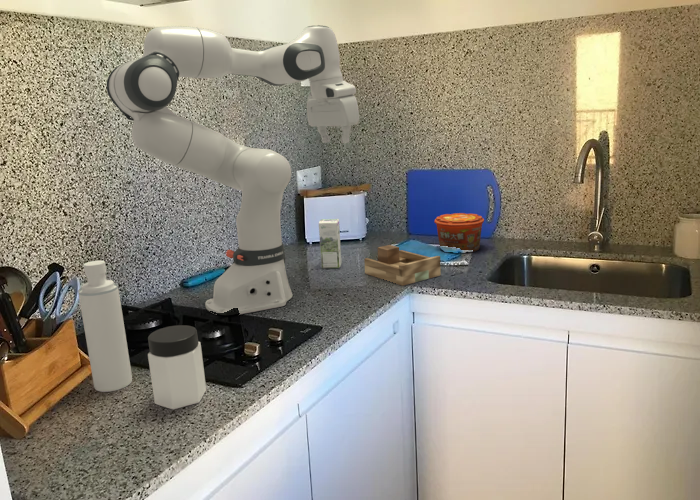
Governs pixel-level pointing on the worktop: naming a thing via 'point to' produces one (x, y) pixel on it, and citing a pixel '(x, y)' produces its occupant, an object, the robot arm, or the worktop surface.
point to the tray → (405, 268)
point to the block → (388, 254)
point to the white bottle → (104, 329)
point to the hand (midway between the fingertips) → (335, 142)
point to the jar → (176, 366)
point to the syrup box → (330, 243)
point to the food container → (459, 230)
